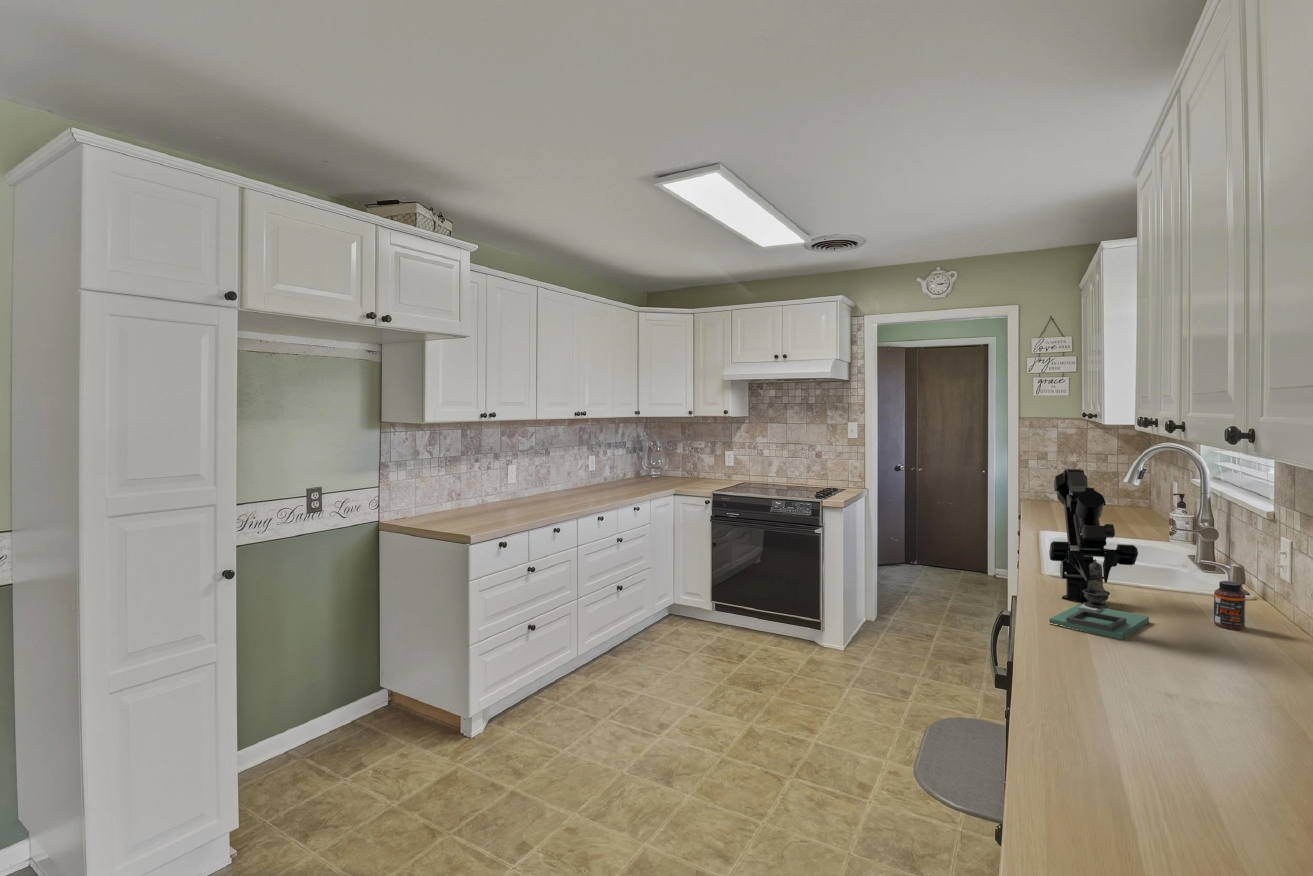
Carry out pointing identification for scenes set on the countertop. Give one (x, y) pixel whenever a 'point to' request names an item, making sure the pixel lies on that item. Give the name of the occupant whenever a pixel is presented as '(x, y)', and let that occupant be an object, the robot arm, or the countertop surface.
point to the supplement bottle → (1229, 606)
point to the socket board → (1101, 621)
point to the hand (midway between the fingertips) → (1096, 581)
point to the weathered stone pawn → (1096, 588)
